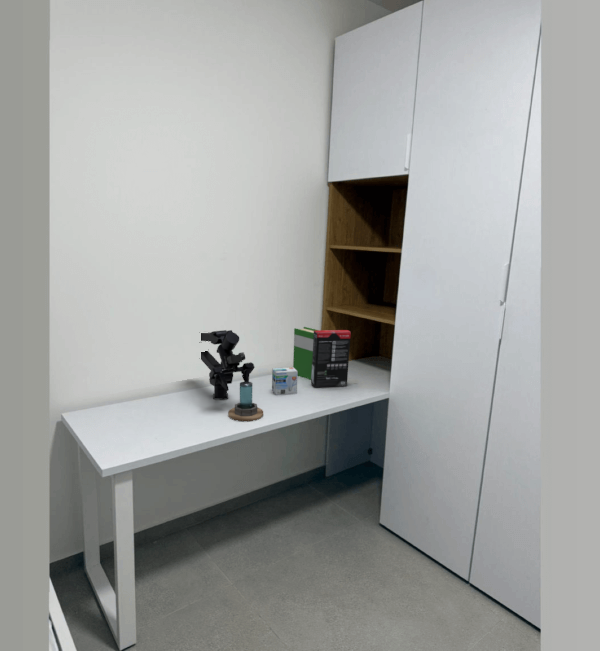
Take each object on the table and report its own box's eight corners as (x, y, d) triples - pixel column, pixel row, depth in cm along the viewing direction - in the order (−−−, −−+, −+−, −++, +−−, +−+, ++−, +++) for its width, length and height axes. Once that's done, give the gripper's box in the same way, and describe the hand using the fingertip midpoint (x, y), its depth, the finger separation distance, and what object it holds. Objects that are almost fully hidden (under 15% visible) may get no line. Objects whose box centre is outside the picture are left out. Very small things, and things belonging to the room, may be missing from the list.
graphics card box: (343, 382, 248) (346, 328, 243) (348, 386, 242) (351, 331, 236) (310, 384, 244) (312, 329, 238) (314, 388, 237) (316, 332, 232)
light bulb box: (275, 395, 227) (275, 372, 224) (271, 390, 233) (271, 368, 231) (297, 393, 230) (298, 370, 228) (293, 388, 236) (293, 366, 234)
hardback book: (293, 373, 260) (294, 328, 255) (303, 371, 265) (304, 326, 260) (316, 382, 247) (318, 334, 243) (327, 379, 252) (329, 332, 248)
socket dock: (228, 409, 208) (228, 400, 207) (261, 408, 210) (261, 399, 209) (228, 422, 194) (228, 412, 194) (264, 420, 197) (264, 411, 196)
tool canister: (237, 413, 201) (237, 384, 198) (243, 409, 205) (243, 380, 203) (248, 415, 199) (248, 386, 197) (254, 410, 203) (254, 382, 201)
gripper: (211, 348, 202) (223, 382, 195) (252, 344, 212) (265, 376, 206) (204, 362, 210) (214, 395, 204) (244, 357, 220) (255, 388, 214)
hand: (238, 388), depth 206 cm, fingers open, 9 cm apart
